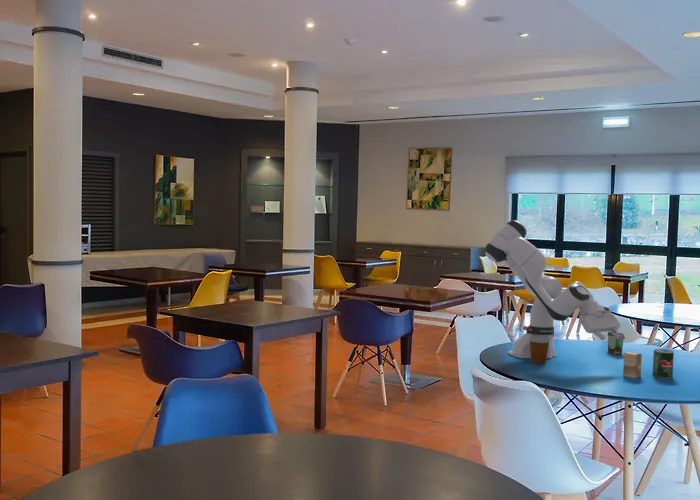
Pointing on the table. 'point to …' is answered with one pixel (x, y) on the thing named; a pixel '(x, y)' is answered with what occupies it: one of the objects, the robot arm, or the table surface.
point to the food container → (615, 343)
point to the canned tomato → (663, 363)
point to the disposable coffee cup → (539, 348)
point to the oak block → (632, 364)
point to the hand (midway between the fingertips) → (610, 338)
